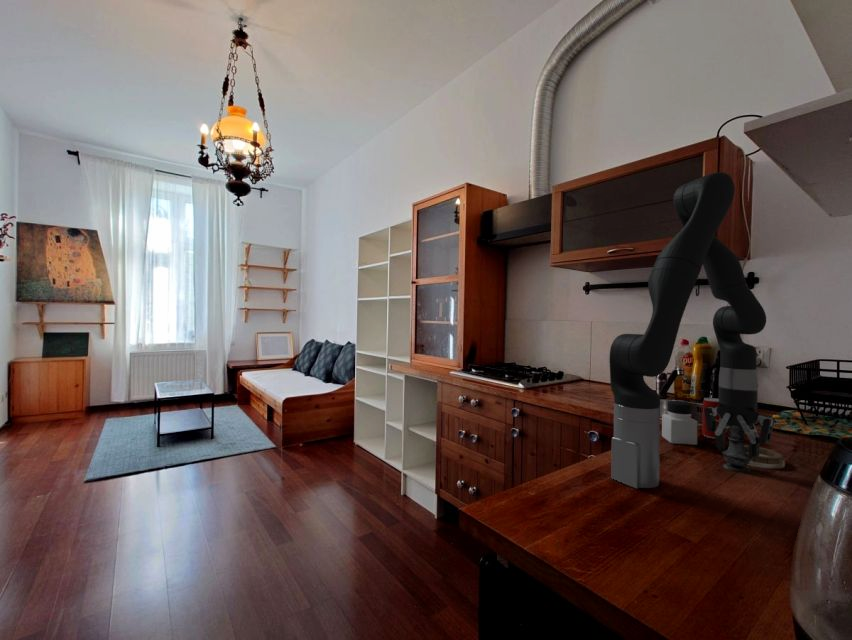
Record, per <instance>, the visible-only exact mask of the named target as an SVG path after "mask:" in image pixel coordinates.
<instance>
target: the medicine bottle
mask: <svg viewBox="0 0 852 640" xmlns="http://www.w3.org/2000/svg"><path fill="white" fill-rule="evenodd" d="M661 436H662V438H663V439H665V440H666V441H667V442H669V443H671V444H679V445H693V446H696V445H698V420H696V419H694V418H692V404H691V403H690V402H688V401H685V400H678V399H677V400H675V399H672V400H669V401H667V413H662V414H661Z"/></svg>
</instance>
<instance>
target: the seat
mask: <svg viewBox="0 0 852 640" xmlns="http://www.w3.org/2000/svg"><path fill="white" fill-rule="evenodd" d="M744 448H745V452H746V453H747V454H749V444H748V445H747V444H744ZM746 466H751V467H756V468H762V469H769V470H770V469H771V470H772V469H773V470H777V469H778V470H779V469H784V468H785V466H786V462H785V460H784V455H782V453H780V452H778V451H775V450H773V449H770V448H765V447H761V446H759V456H758V457H756V458H755V459H750V462H749V464H747V465H746Z"/></svg>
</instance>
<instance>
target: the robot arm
mask: <svg viewBox="0 0 852 640" xmlns="http://www.w3.org/2000/svg"><path fill="white" fill-rule="evenodd" d="M735 188H736V187H735V183H734V180H733V178H732V177H731V176H730V175H729V174H728V173H726V172H722V171H720V172H719V171H718V172H712V173H709V174H706V175H704V176H701V177H699V178H696V179H694V180H692V181H688V182H687V183H683V184H682V185H680V186H679V187H678V188H677V189H676V190H675V192H674V193H673V198H672V199H673V200H672V202H673V207H674V208H673V209H674V211H675V214H676V215H677V217H678V219H679V221H680V223H681V225H682V228H681V229H680V230H679V232H678V233H677V234H676V235H675V236H674V237H673V238H672V239H671V240H670V241H669V242H668V243H667V244H666V245H665V246H664V247H663V248H662V250H661V251H660V253H659V254H658V255H657V258H656V259H655V261H654V262H655V263H654V265H653V267H652V269H651V272H650V274H649V277H648V281H647V286H648V293H649V296H650V300H651V305H652V314H651V317H650V321H649V323H648V326H647V328H646V330H645V332H644V333H622V334H620V335H618V336H616V337H615V339H613V341H612V344H611V345H610V350H609V377H610V378H609V379H610V390H611V392H612V395H613V437H612V438H611V452H610V453H611V455H610V456H611V458H610V466H611V467H610V478H612V479H611V480H613V479H614V480H613V481H616V480H617V481H616V482H619V483H621V482H622V484H625V485H626V486H629V487H632V488H634V489H640V488H641V489H653V488H657V487H658V486H660V442H661V441H660V433H661V429H660V428H661V427H660V426H661V425H660V424H661V423H660V422H661V421H660V420H661V397H660V395H659V393H658V392H657V391H655V390H654V389H652V387H650V386H649V385H648V384H647V382H646V381H645V378H644V377H647V378H649V377H650V378H655V377H658V376H660V375H661V374H663V373H664V372H665V370H666V368H667V367H668V366H669V364H670V361H671V359H672V355H673V353H674V352H673V351H674V348H675V344H676V339H677V336H678V332H679V328H680V325H681V322H682V319H683V316H684V312H685V310H686V308H687V305H688V303H689V299H690V298H691V294H692V293H693V290H694V288H695V285H696V283H697V281H698V278H699V275H700V273H701V270H702V266H703V269H704V272H705V275H706V279H707V281H708V285H709V288H710V291H711V294H712V295H713V297H714V298H715V299H717V300H720V301H724V302H727V303H728V304H729V305H725V306H721V307H720V308H718V309H717V310H716V311H715V313H714V315H713V318H712V327H713V328H712V329H713V332H714V334H715V337H716V341H717V344H718V347H719V350H720V353H719V355H720V359H719V361H720V365H719V374H718V399H719V406H718V407H717V408H713V407H707V408H705V409H704V412H705V419H706V425H707V430H708V431H711V432H713V433H715V435H716V439H715V447H716V448H717V451H720V452H722V451H723V450H726V435H725V433H726V432H727V431H728V429H730V427H731V426H732V425H733V426H738V427H739V428H740V429H743V430H744V435H746V436H747V438H748V440H749V443H748V445H749V458H750V459H755V458H756V457H758V456H759V447H760V444H766V443H769V442H771V438H772V433H773V428H774V425H775V419H774V418H773V417H766V416H762V415H760V413H759V411H758V394H759V393H758V391H759V390H758V389H759V382H758V381H759V380H758V379H759V378H758V372H757V367H758V366H757V365H758V364H757V362H758V361H757V360H758V357H757V356H758V355H757V349H756V347H755V346H753V345H751V344H748V343H745V342H744V341H743V338H742V337H741V335H756V334H759V333H760V332H762V331H763V330H764V329H765V326H766V324H767V314H766V311H765V309H764V307H763V305H761V303H760V302H759V300H758V298H757V297H756V296H755V294H754V293H753V292H752V290H751V289H750V288H749V286H748V284H747V281H746V276H745V275H744V271H743V268H742V264H741V262H740V260H739V258H738V257H737V256H736V254H735V253H734V252H733V251H732V250H731V249H730V248H729V247H728V246H727V245H726V244H725V243H723V242H722V241H721V240H720V239H719V238H718V237H717V236H716V234H717V232H718V230H719V228H720V226H721V224H722V223H723V220H724V219H725V217H726V215H727V213H728V211H729V210H730V208H731V206H732V204H733V201H734V197H735V191H736V189H735ZM717 413H718V414H719V415H720V417H721V418H722V420H721V422H720V423H719V425H718V428H717V426H716V419H715V416H716V415H717ZM757 421H758V422H759V425H760V426H761V430H760V431H761V432H760V436H759V434H758V431H757V427H756V425H755V423H756V422H757Z"/></svg>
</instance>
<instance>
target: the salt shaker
mask: <svg viewBox="0 0 852 640" xmlns="http://www.w3.org/2000/svg"><path fill="white" fill-rule="evenodd" d="M727 439H728V441H729V442H728V443H729V444H728V447H727V449H725V450H723V451H721V454H722V455H723V458H724V460H725V461H726V463H724V464H723V465H722V467H723V468H725V470H729V471H732V472H736V473H742V474H745V473H746V474H748V473H751V469H749V468H748V467H747V466H748V465H747V464H749V462H750V458H749V454H747V453H746V452H745V448H744V445H745V442H746V441H747V439H745V432H744V430H743V429H740V428H739V427H738V426H733V425H732V426H731V427H729V436H727Z"/></svg>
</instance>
